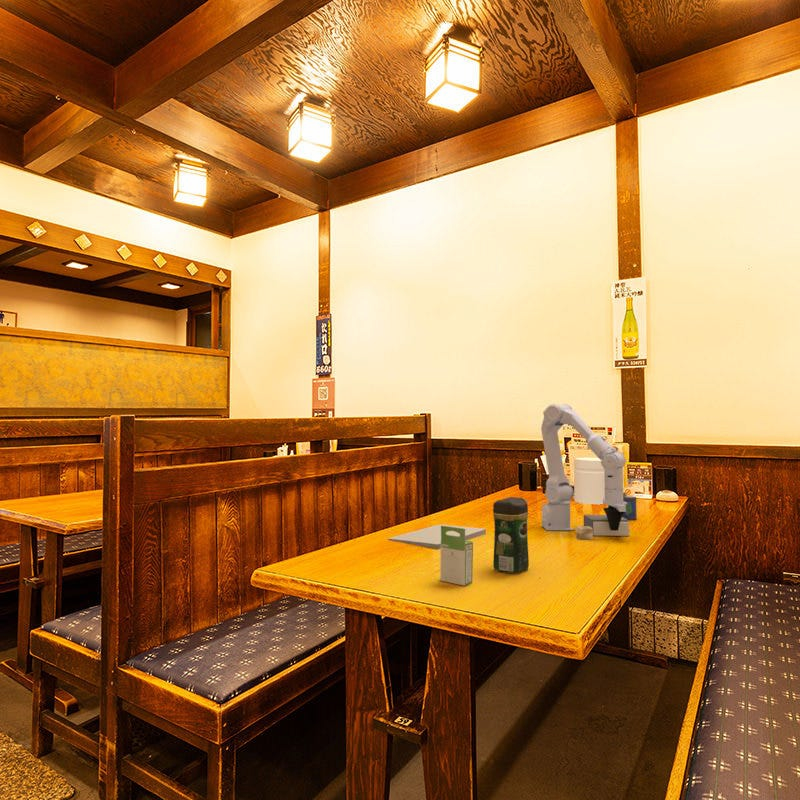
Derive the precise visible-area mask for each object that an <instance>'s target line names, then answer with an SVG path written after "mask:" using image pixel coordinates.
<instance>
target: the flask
mask: <svg viewBox="0 0 800 800" xmlns="http://www.w3.org/2000/svg"><path fill="white" fill-rule="evenodd" d="M623 502H627V505H625V506H626V512H625V513H624V514H623V516H622V517H623V518H625V519H627V520H628V521H637V511H638V510H637V496H633V495H632V496H630V495H627V492H626V491H623Z"/></svg>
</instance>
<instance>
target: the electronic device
mask: <svg viewBox="0 0 800 800" xmlns="http://www.w3.org/2000/svg"><path fill="white" fill-rule="evenodd" d="M441 526H448V527H455V528H462V529H465V541H470V540H471V539H475V538H477V537H481V536H483V535H486V533H487V529H486V528H481V527H472V526H471V527H469V526H458V525H447V524H435V525H433V526H428V527H424V528H421V529H417V530H413V531H410V532H407V533H403V534H399V535H395V536H391V537H388V540H389V541H391V542H392V541H393V542H397V543H403V544H408V545H414V546H418V547H423V548H429V549H433V550H441ZM446 534H447V535H452V536H460V534H459V533H457V532H455V531H448V532H446Z"/></svg>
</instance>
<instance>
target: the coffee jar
mask: <svg viewBox="0 0 800 800" xmlns="http://www.w3.org/2000/svg"><path fill="white" fill-rule="evenodd" d="M492 505H493V506H492V508H493V509H492V515H493V521H494V535H493V536H494V537H493V538H494V540H493V569H494V570H495V571H497V572H499V573H503V574H519V573H522V572H524V571H525V570H527V569H528V568H529V565H530V564H529V563H530V559H529V543H528V541H529V539H528V517H529V507H528V506H529V505H528V502H527V500H525V499H524V498H522V497H517V496H515V497H514V496H510V497H505V498H503V499H499V500H496V501H495V502H493V504H492Z"/></svg>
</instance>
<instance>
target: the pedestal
mask: <svg viewBox="0 0 800 800" xmlns="http://www.w3.org/2000/svg"><path fill="white" fill-rule="evenodd" d="M593 536H594V535H593V529H592V528H591V527H589V526H584V525H577V526H576V538H577V539H579V540H587V541H588V540H594V537H593Z"/></svg>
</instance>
